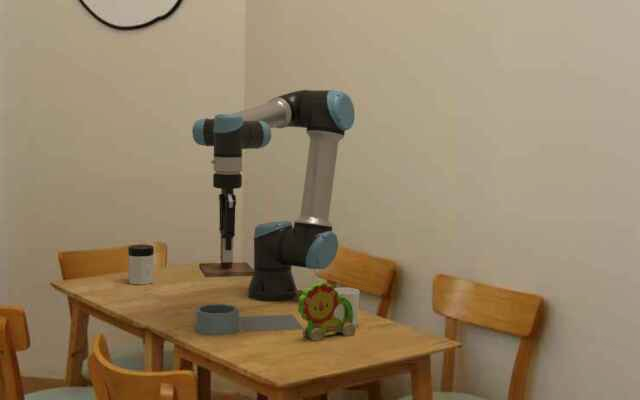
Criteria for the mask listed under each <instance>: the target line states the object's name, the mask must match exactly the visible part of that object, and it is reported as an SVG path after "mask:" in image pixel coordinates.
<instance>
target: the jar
mask: <svg viewBox="0 0 640 400" xmlns="http://www.w3.org/2000/svg"><path fill="white" fill-rule="evenodd" d="M127 248H128V250H127V251H128V252H127V253H128V256H127V257H128V284H129V283H135V284H147V283H152V282H154V283H155V271H154V269H155V267H154V266H155V265H154V264H155V262H154V261H155V260H154V257H155V256H154V254H155V253H154V252H155V251H154V250H155V249H154V246H153V245H151V244H133V245H132V244H131V245H129V246H128V247H127Z"/></svg>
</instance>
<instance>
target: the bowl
mask: <svg viewBox="0 0 640 400" xmlns="http://www.w3.org/2000/svg"><path fill="white" fill-rule="evenodd" d="M239 317H240V311H239V308H238V307H237V306H236V305H231V304H224V303H218V304H217V303H215V304H214V303H212V304H209V303H208V304H205V305H201V306H198V307H195V331H196V332H197V333H198V334H203V335H208V336H218V335H219V336H221V335H230V334H233V333H236V332H238V331H239V330H240V329H239V328H240V327H239V326H240V322H239Z"/></svg>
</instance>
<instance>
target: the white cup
mask: <svg viewBox="0 0 640 400" xmlns="http://www.w3.org/2000/svg"><path fill="white" fill-rule="evenodd" d="M334 289H335V291H337V292H338V295H339V296H341V297H344V298H346V299H347V300H349V302H350V303H351V305H352V309H353V322H352V324H353V325H354V326H355V328H357V327H358V316H359V307H360V305H359V303H360V293H361V292H360V290H359V289H358V288H355V287H354V288H353V287H336V288H335V287H334ZM334 316H335V317H336V318H338V319H340V320H343V318H344V306H343V304H339V305H338V306H337V307H336V309H335V311H334Z"/></svg>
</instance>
